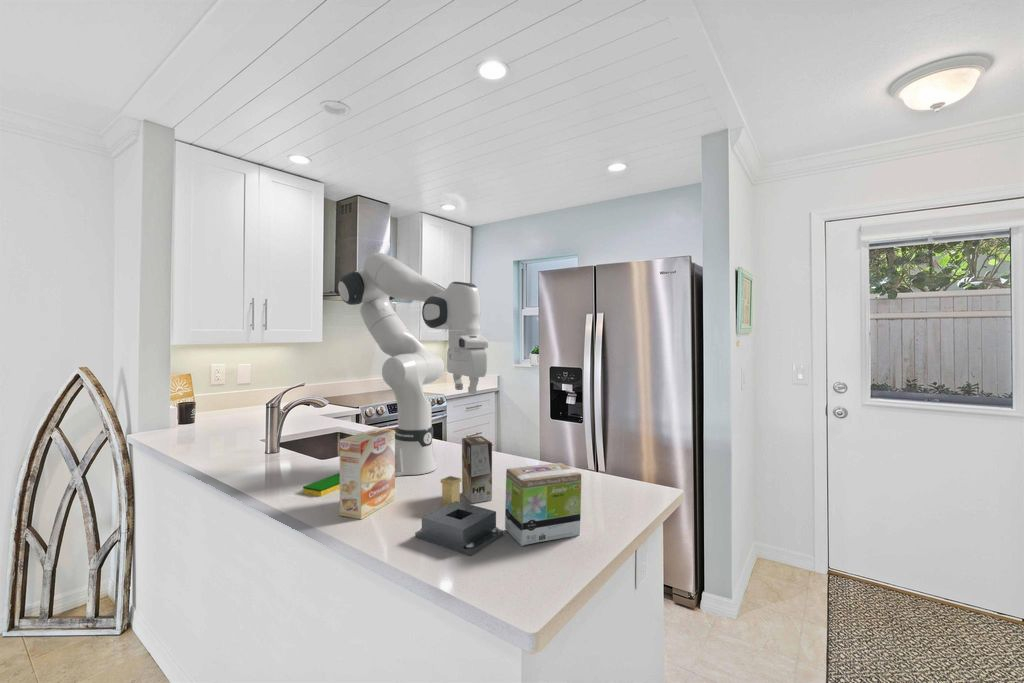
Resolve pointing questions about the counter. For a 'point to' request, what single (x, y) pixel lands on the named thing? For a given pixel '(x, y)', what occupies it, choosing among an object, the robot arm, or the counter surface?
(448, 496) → the wooden square peg
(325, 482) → the dish sponge
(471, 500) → the coffee box
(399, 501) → the counter surface
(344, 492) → the coffeecake box
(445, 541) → the grey square socket block
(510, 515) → the tea box
